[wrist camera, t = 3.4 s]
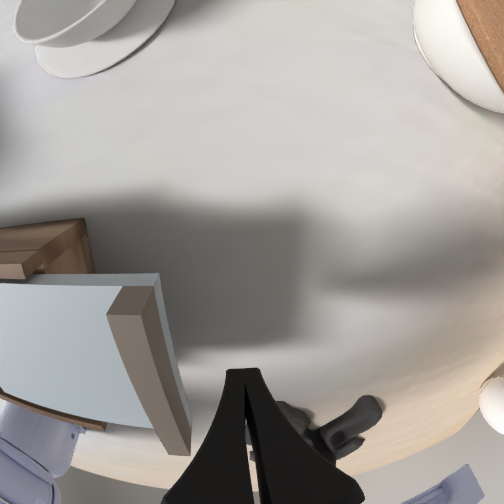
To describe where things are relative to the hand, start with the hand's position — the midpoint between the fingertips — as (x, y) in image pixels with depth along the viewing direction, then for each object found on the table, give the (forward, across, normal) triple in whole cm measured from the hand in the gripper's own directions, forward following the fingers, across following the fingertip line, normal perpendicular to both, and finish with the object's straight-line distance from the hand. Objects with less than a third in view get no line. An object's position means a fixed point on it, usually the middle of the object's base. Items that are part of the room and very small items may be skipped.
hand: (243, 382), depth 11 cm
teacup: (+7, +8, -20) cm, 22 cm away
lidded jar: (+7, -15, -19) cm, 25 cm away
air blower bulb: (+7, -44, +24) cm, 51 cm away
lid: (+1, +11, 0) cm, 11 cm away
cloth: (+7, -8, +22) cm, 25 cm away
